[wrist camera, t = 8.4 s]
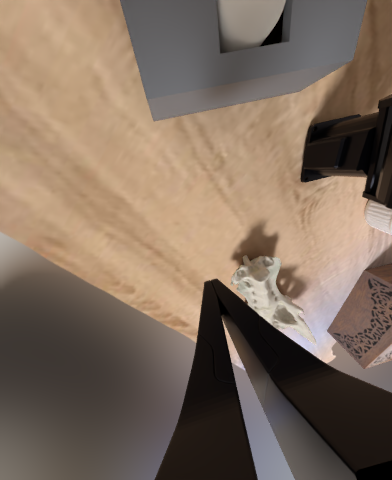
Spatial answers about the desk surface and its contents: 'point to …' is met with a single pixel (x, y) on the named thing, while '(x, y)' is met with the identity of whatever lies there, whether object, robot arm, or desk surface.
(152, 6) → the housing
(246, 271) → the skull
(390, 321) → the tissue box cover
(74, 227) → the desk surface
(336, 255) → the desk surface
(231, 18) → the knob
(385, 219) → the ramekin
